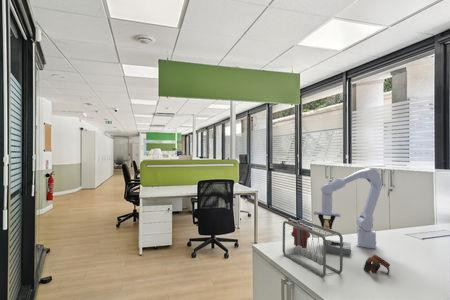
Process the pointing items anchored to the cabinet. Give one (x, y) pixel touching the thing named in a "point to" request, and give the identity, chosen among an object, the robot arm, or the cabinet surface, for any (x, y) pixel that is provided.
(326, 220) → the bushing
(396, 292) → the cabinet surface
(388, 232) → the cabinet surface
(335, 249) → the block
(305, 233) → the mechanical component
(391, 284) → the cabinet surface
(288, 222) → the newton's cradle
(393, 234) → the cabinet surface
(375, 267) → the brown sunglasses
